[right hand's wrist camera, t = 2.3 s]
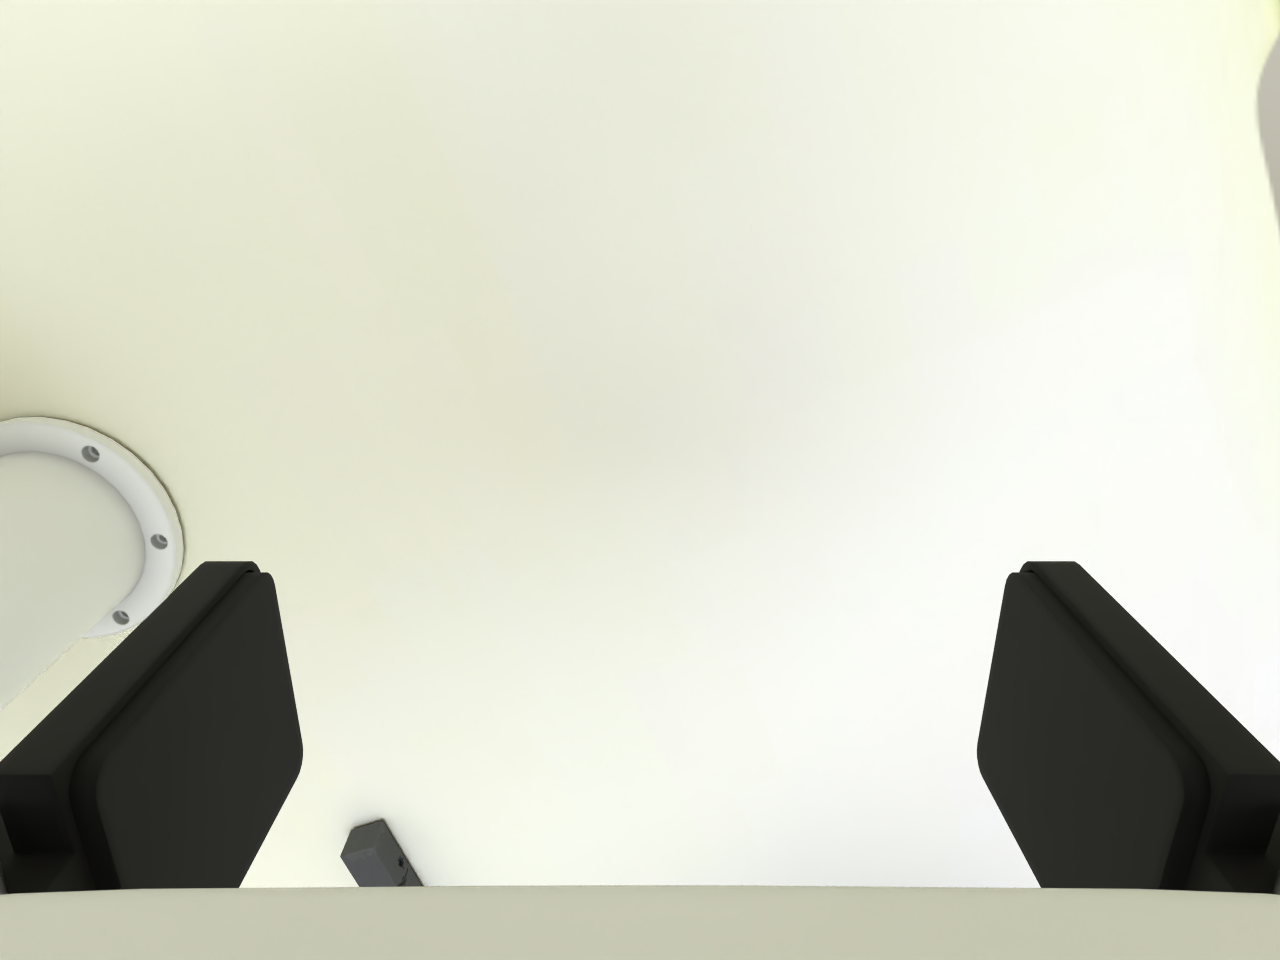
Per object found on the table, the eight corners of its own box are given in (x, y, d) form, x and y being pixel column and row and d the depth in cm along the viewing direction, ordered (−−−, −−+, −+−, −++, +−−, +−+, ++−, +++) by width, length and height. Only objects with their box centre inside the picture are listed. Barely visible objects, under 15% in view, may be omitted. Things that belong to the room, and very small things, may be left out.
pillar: (372, 846, 52) (504, 1062, 59) (382, 820, 54) (509, 1031, 61) (340, 856, 53) (475, 1069, 60) (351, 829, 55) (480, 1038, 62)
